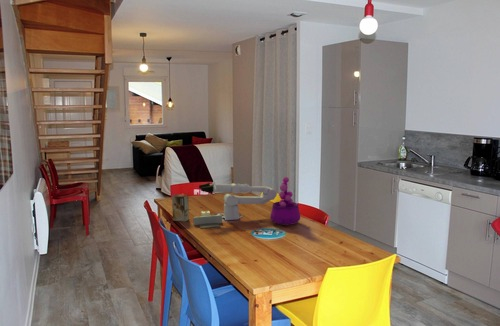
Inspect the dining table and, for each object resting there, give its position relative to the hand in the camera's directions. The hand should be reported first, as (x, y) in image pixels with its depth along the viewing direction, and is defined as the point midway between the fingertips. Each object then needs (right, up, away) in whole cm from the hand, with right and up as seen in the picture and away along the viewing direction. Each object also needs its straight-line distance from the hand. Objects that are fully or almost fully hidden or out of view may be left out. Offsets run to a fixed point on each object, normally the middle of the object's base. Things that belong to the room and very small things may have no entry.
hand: (200, 188), depth 265 cm
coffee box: (-13, -21, +5) cm, 26 cm away
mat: (+7, -23, -8) cm, 25 cm away
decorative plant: (+54, -23, -3) cm, 59 cm away
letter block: (+3, -21, +3) cm, 22 cm away
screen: (+5, -22, -4) cm, 23 cm away
